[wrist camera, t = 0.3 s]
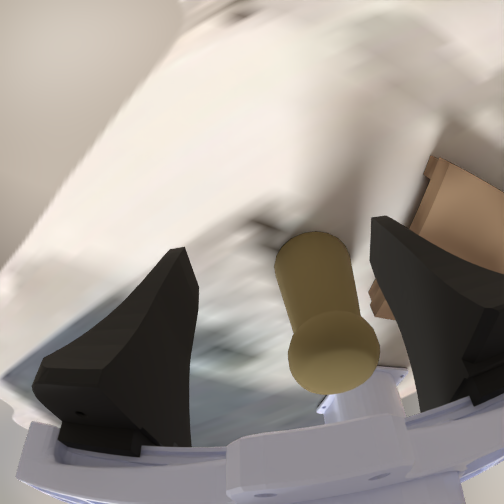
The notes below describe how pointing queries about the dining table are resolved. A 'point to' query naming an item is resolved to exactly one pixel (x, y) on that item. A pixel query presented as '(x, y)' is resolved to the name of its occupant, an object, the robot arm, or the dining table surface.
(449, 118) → the dining table surface
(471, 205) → the tan square board
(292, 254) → the olive bulb-shaped piece
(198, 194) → the dining table surface
